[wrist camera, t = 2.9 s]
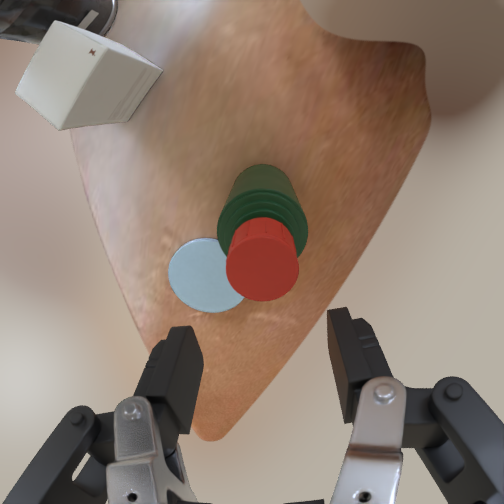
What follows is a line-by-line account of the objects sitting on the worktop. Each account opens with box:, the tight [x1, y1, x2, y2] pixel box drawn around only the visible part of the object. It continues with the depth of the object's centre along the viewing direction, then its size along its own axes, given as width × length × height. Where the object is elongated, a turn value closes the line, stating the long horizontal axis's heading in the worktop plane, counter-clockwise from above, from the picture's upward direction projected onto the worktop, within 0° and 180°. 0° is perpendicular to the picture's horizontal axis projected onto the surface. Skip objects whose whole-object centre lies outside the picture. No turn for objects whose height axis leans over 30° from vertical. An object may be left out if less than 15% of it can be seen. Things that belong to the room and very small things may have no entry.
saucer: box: [168, 238, 244, 313], centre depth 36 cm, size 10×10×1 cm
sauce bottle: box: [217, 164, 308, 258], centre depth 24 cm, size 6×6×17 cm
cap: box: [226, 217, 299, 301], centre depth 17 cm, size 4×4×3 cm
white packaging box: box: [15, 20, 163, 131], centre depth 21 cm, size 7×7×13 cm
